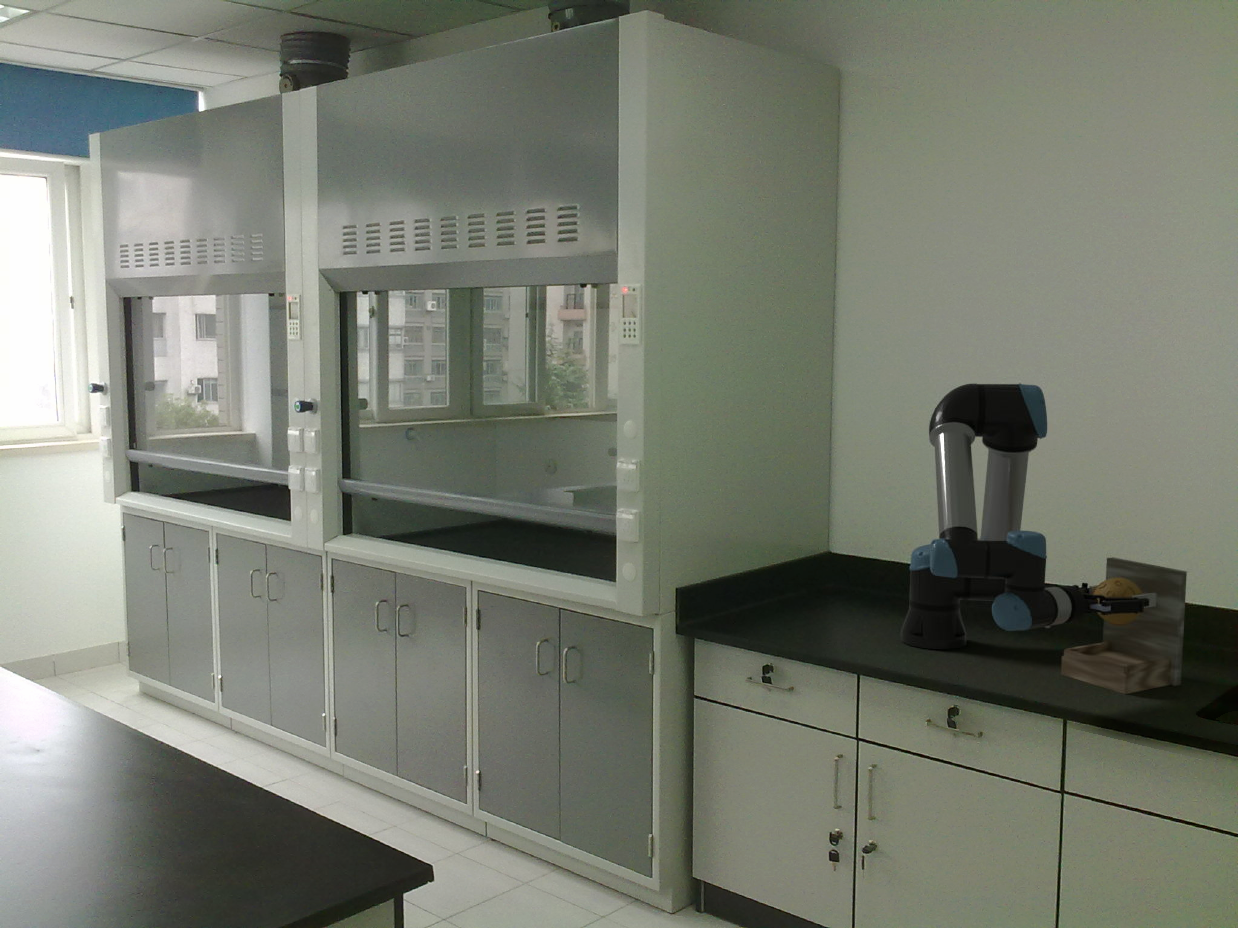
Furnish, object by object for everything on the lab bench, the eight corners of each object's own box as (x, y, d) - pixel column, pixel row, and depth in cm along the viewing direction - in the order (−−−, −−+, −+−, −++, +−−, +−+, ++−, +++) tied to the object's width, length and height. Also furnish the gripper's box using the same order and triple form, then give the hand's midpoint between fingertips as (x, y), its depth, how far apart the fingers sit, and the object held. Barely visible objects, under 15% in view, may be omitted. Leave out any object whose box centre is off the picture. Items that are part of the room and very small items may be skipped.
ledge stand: (1129, 695, 234) (1134, 578, 232) (1057, 673, 250) (1062, 563, 247) (1180, 684, 242) (1186, 571, 239) (1107, 663, 257) (1112, 557, 255)
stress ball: (1116, 622, 250) (1080, 592, 250) (1150, 591, 246) (1114, 561, 247) (1122, 641, 241) (1084, 609, 241) (1158, 609, 237) (1120, 577, 237)
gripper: (1014, 612, 245) (1087, 601, 256) (1104, 635, 225) (1179, 623, 236) (1016, 577, 244) (1089, 568, 255) (1106, 597, 225) (1181, 586, 235)
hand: (1132, 594), depth 245 cm, fingers closed on stress ball, 10 cm apart
